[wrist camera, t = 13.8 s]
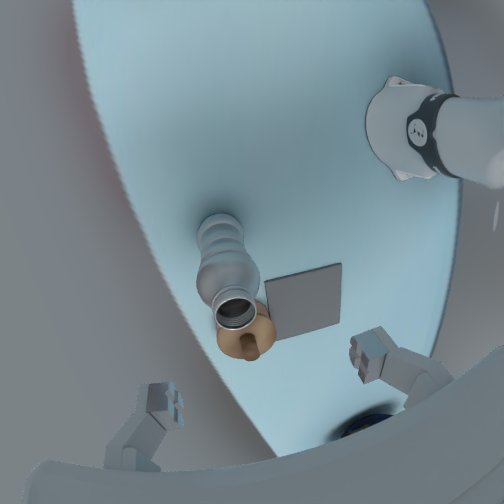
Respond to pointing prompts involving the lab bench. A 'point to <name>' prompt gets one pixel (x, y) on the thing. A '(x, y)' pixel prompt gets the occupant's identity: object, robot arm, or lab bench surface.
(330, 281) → the mat
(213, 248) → the plastic bottle
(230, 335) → the lid
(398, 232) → the lab bench surface
